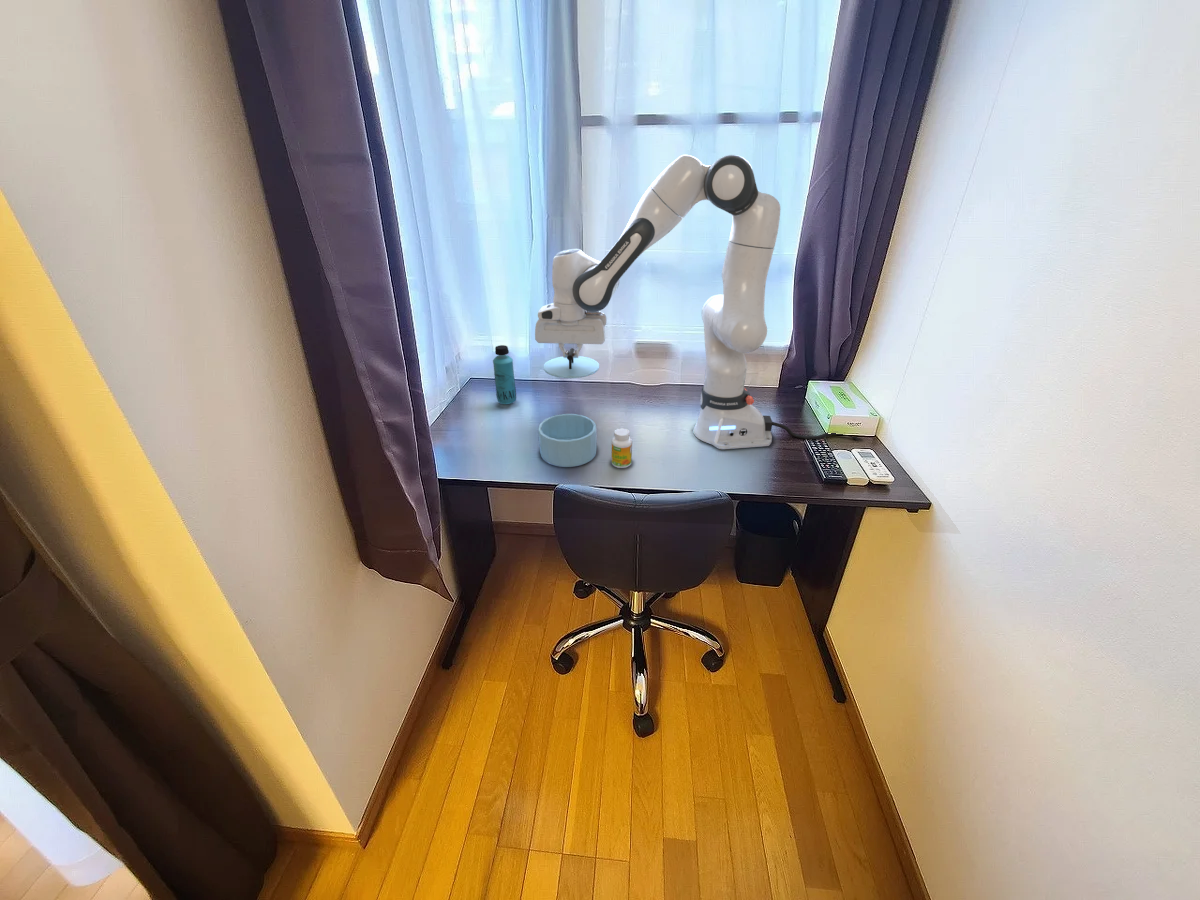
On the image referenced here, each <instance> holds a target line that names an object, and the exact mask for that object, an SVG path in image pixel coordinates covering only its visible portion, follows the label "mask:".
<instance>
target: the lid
mask: <svg viewBox="0 0 1200 900" xmlns="http://www.w3.org/2000/svg"><path fill="white" fill-rule="evenodd" d="M574 351H576V350H575V348H572V347H571V348H569V353H568V356H567V358H563V356H558V357H553V358H552V359H549V360H547V361H546V362H545V363H544V364H543V371H544V372H545V373H546V374H547V375H549V376H551V377H555V378H560V379H580V378H585V377H589V376H592V375H595V374H596V373H598V371H599V370H600V363H599V362H598V360H595V359H593V358H591V357H589V356H582V355H579V358H574V355H573V352H574Z"/></svg>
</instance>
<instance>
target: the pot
mask: <svg viewBox="0 0 1200 900" xmlns="http://www.w3.org/2000/svg"><path fill="white" fill-rule="evenodd" d="M537 433H538V446H539V453H540V457H541V458H542V460H543V461H544V462H545V463H548V464H549V465H552V466H556V467H561V468H572V467H578V466H582V465H584V464H585V465H586V464H587V463H589V462H591V461H592V460H593V459H594V458H595V457H596V455H597V449H598V448H597V447H598V446H597V444H598V443H597V424H596V422H595V421H594V420H593V419H592V418H590V417H588V416H586V415H582V414H578V413H562V414H555V415H552V416H549V417H547V418H544V419H543V421H540V423H539V425H538V428H537Z"/></svg>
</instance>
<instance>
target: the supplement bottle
mask: <svg viewBox="0 0 1200 900" xmlns="http://www.w3.org/2000/svg"><path fill="white" fill-rule="evenodd" d="M630 435H631V433H630V430H629V429H627V428H623V427H621V428H620V427H619V428H617V429H615V430H614V435H613V436H614V437H612V439H611V455H610V456H611V465H612V466H613V467H615V468H616V469H617V468H618V469H626V468H628V467H630V466H631V465H632V454H633V453H632V452H633V439H632V438H631V437H630Z"/></svg>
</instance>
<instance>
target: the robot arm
mask: <svg viewBox="0 0 1200 900" xmlns="http://www.w3.org/2000/svg"><path fill="white" fill-rule="evenodd" d="M702 201H709V202H710V203H711V204H712V205H713V206H715V208H718V209H720V210H721V211H724V212H726V213H728V214H730V215H731V217H732V221H731V229H730V233H729V237H728V242H727V247H726V251H725V255H724V260H723V264H722V269H721V280H722V292H723V293H721V294H720V293H719V294H718V293H717V294H713V295H712V296H710V297H709V298H708V299H706V301H705V302H704V304H703V306H702V308H701V319H702V323H703V333H704V334H703V335H704V348H705V349H704V351H705V369H704V381H703V386H702V387H701V392H700V399H699V406H700V408H699V412H698V416H697V419H696V421H695V422H696V423H695V425H694V427H693V429H692V430H693V431H692V432H693V435H694V436H695V438H697V439H698V440H700V441H702V442H704V443H707V444H710V445H711V446H713V447H715V448H717V449H718V450H733V449H745V448H746V449H748V448H760V447H761V448H763V447H770V445H771V444H772V441H773V435H772V430H773V429H772V428H773V426H774V427H778V428H781V429H783V430H785V431H786V432H787V434H788V435H790V437H791V436H792V437H794V438H796V439H801V440H820V439H824V438H826V437H829V436H844V435H843V434H836V433H831V434H828V432H825V433H822V434H819V435H803V434H798V433H795V432H793V431H792V430H791V428H789V427H788V426H786V425H785V424H783V423H779V422H775V421H773V420H772V417H771V415H763V413H762V412H761V410H759V408H757V407H756V406H754V405H753V404H754V403H755V399H754V397H753V396H751V393H750V392H749V391H748V390H747V389H746V387H745V383H746V377H747V371H748V370H747V369H748V362H747V358H746V355H745V354H750V353H752V352H755V351H756V350H758V349H759V348H760V347H762V345H763V344H764V342H765V341H766V338H767V335H768V327H767V324H766V318H765V301H766V300H765V297H766V285H767V284H766V283H767V278H768V275H769V270H770V267H771V263H772V262H771V261H772V258H773V254H774V250H775V247H776V242H777V237H778V232H779V226H780V217H781V204H780V202H779V200H778V199H777V198H776V197H775V196H773V195H771V194H769V193H767V192H766V193H765V192H762V191H758V185H757V183H756V178H755V173H754V168H753V167H752V165H751V164H750V162H749V161H748V160H747V159H746V158H744V157H743V156H741V155H738V154H737V155H736V154H727V155H724V156H722V157H720V158H718V159H716V160H715V161H714V162H713V163H712V164H710V165H709V164H708V165H706V164H704V163H703V162H702V161H700V159H698V158H697V157H695V156H694V155H690V154H682V155H680V156H678V157H677V158H676V159H675V160H673V161H672V162H670V164H669V165H668V166H667V167H666V168H665V169H663V171H662V172H660V173H659V175H658V176H657V177H656V178H655V180H654V181H653V182H652V183H651V184H650V185H649V186H648V188H647V189H646V190H645V192H644V194H643V195H642V196H641V198H640V199H639V202H638V203H637V204H636V207H635V208H634V210H633V212H632V214H631V216H630V218H629V219H628V220H629V221H628V223H627V224H626V227H625V228H624V229H623V231H622V234H621V235H620V237H619V238H618V240H617V241H616V242H615V243H614V244H613V246H612V247H611V248H610V249H609V250H608V251H607V253H606V254H605V255H604V256H603V258H602V259H601V260H597V259H595V258H593V257H591V256H589V255H587V254H586V253H585V252H584V251H583V250H581V249H580V248H569V249H564V250H561V251H558V252H557V253H556V254H555V255H554V257H553V259H552V266H551V268H552V269H551V280H552V283H551V284H552V288H553V292H554V294H553V297H552V299H553V302H552V303H548V304H545V305H542V306H541V307H540V308H539V309H538V311H537V318H538V319H537V321H536V322H535V328H534V339H535V341H536V343H538V344H558V348H559V349H560V351H561V352H562V357H563V358H567V356H568V353H569V350H570V349H569V350H568V349H566V348H565V344H568V345H576V347H577V349H576V350H575V351H574V352H573V355H574V358H579V356H580V352H581V350H582V348H583V345H603V344H604V343H605V342H606V330H605V329H606V328H605V327H606V325H607V316H606V314H605V313H604V312H602V311H603V310H604V309H605V308H606V307H607V306H608V305H609V303H610V301H611V299H612V297H613V296H614V295H615V293H616V292H617V290H618V288H619V285H620V279H621V278H622V277H623V276H624V274H625V273H626V272H627V271H628V270H629V268H630V267H631V266H632V265H633V263H635V261H636V260H637V259H638V258H639V257H640V256H641V255H642V254H643V253H644V252H645V251H646V250H648V249H649V248H651V247H652V246H654V245H655V244H656V243H658V242H659V241H660V240H662V239H663V238H664V237H666V236H667V235H668V234H669V233H670V232H672V230H674V229H675V228H676V227H677V226H678V225H679V224H680V222H681V221H682V220H683V219H684V218H685V217H686V216H687V214H688V213H689V212H690V211H691V210H692V209H693V208H694V207H695V206H696V204H699V203H700V202H702ZM845 436H846V437H850V438H852V439H853V440H854V441H859V438H858V436H856V437H852V436H848V435H845Z"/></svg>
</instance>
